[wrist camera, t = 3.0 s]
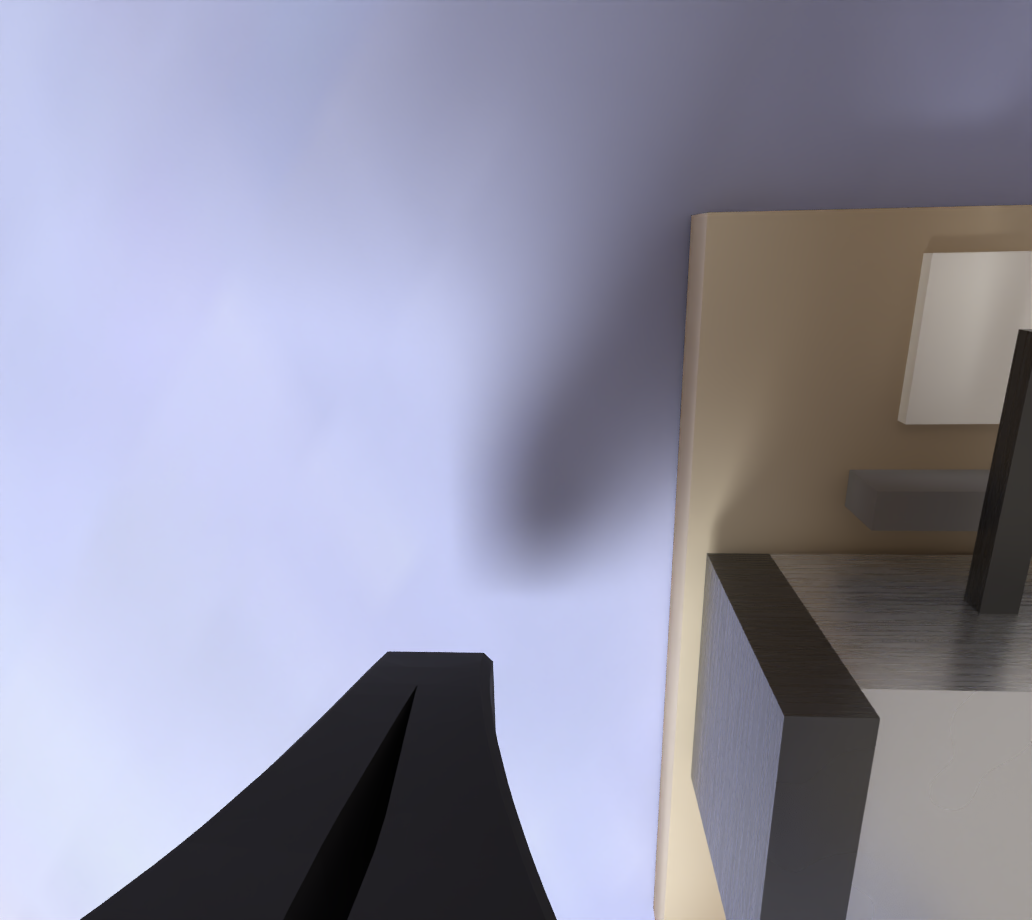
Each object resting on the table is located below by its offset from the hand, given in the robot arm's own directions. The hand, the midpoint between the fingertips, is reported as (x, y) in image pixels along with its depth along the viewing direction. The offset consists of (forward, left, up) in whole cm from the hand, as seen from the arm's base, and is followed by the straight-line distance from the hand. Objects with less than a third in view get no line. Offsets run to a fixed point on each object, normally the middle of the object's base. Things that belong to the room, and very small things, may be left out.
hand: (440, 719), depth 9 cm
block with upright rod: (+2, -6, -1) cm, 6 cm away
